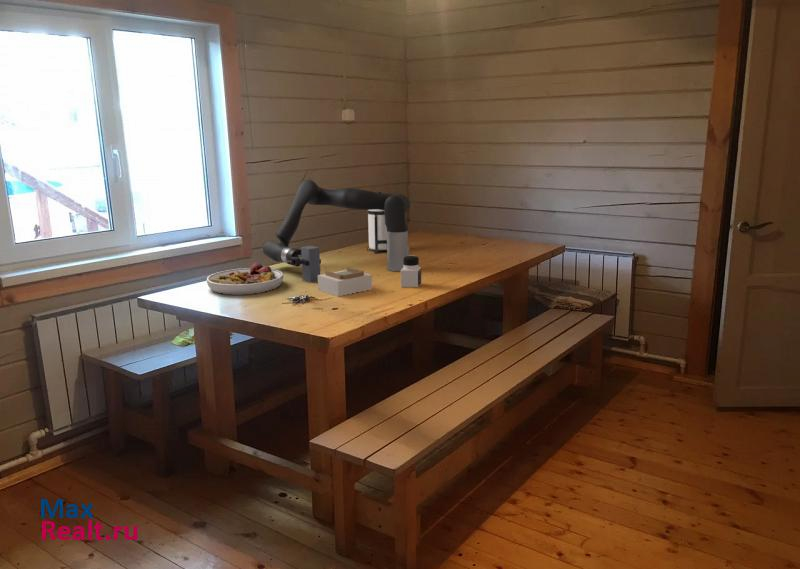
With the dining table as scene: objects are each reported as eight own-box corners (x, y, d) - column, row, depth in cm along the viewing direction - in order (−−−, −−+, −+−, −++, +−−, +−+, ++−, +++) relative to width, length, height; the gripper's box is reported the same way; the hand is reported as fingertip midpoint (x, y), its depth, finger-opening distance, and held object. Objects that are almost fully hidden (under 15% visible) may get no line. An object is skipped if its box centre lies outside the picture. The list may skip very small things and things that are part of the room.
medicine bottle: (418, 287, 266) (418, 258, 263) (400, 287, 267) (400, 257, 264) (421, 283, 273) (421, 254, 270) (404, 283, 274) (403, 254, 271)
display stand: (351, 283, 274) (350, 265, 273) (372, 289, 264) (371, 270, 262) (318, 290, 265) (317, 271, 263) (338, 296, 254) (337, 277, 252)
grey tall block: (312, 278, 285) (311, 245, 281) (320, 280, 280) (319, 247, 277) (302, 280, 282) (301, 247, 278) (310, 282, 277) (308, 249, 274)
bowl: (268, 298, 254) (267, 278, 252) (194, 296, 259) (192, 276, 257) (293, 280, 283) (292, 261, 281) (226, 278, 288) (224, 260, 286)
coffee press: (360, 253, 337) (358, 193, 330) (373, 247, 351) (372, 189, 344) (391, 255, 330) (390, 194, 323) (404, 249, 345) (403, 190, 338)
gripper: (277, 250, 284) (298, 255, 272) (306, 245, 293) (328, 251, 280) (278, 267, 286) (299, 274, 273) (307, 262, 295) (329, 268, 282)
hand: (314, 262), depth 277 cm, fingers closed on grey tall block, 5 cm apart
